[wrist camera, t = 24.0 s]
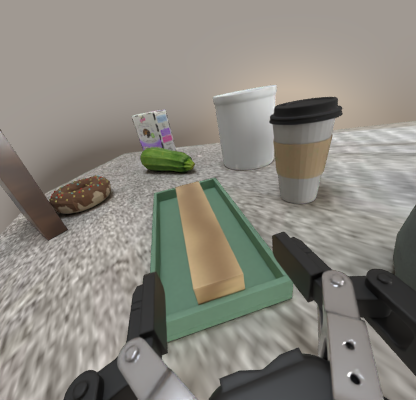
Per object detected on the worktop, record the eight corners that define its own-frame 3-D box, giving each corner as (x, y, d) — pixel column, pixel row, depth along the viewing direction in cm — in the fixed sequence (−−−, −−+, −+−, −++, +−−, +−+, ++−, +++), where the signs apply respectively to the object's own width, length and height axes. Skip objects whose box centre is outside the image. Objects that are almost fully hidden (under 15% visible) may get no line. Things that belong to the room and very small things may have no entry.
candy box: (178, 155, 73) (166, 108, 65) (166, 161, 69) (152, 112, 61) (156, 154, 81) (143, 112, 73) (145, 159, 77) (130, 115, 70)
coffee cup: (267, 186, 39) (265, 105, 32) (318, 181, 37) (328, 94, 30) (274, 211, 31) (273, 112, 24) (339, 208, 29) (360, 97, 22)
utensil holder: (289, 158, 50) (291, 81, 42) (242, 176, 45) (234, 93, 37) (253, 149, 62) (249, 88, 54) (213, 163, 57) (202, 98, 49)
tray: (292, 298, 18) (293, 279, 17) (157, 346, 17) (147, 329, 16) (217, 188, 42) (215, 177, 41) (157, 204, 41) (153, 193, 39)
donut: (125, 191, 50) (117, 174, 48) (74, 221, 41) (61, 201, 38) (94, 187, 58) (86, 172, 55) (45, 212, 48) (32, 195, 45)
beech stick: (202, 316, 18) (193, 289, 16) (180, 205, 37) (175, 187, 35) (247, 301, 18) (243, 273, 16) (202, 199, 37) (198, 181, 35)
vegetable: (144, 142, 62) (193, 141, 50) (158, 157, 67) (204, 160, 56) (131, 159, 59) (180, 162, 48) (146, 174, 64) (193, 180, 53)
